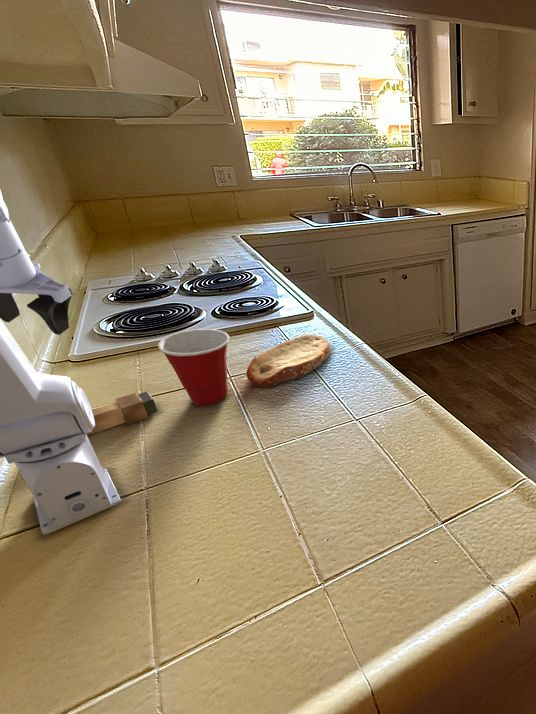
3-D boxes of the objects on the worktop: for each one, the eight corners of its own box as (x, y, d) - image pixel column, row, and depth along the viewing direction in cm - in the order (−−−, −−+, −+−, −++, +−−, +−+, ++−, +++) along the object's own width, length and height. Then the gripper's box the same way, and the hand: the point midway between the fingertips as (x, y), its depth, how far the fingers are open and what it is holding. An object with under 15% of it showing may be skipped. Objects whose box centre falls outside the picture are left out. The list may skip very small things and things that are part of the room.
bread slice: (324, 339, 110) (322, 325, 108) (345, 370, 96) (342, 353, 94) (241, 356, 102) (237, 340, 100) (251, 392, 88) (246, 374, 86)
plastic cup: (230, 412, 81) (212, 350, 76) (165, 414, 81) (143, 352, 75) (252, 382, 91) (238, 325, 86) (195, 384, 90) (177, 327, 85)
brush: (67, 445, 73) (59, 428, 71) (63, 434, 75) (55, 417, 74) (158, 413, 81) (153, 398, 79) (151, 404, 84) (146, 389, 82)
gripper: (72, 248, 67) (102, 320, 76) (-32, 222, 66) (12, 298, 75) (30, 274, 61) (69, 348, 71) (-83, 246, 61) (-29, 324, 70)
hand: (37, 324), depth 72 cm, fingers open, 7 cm apart
